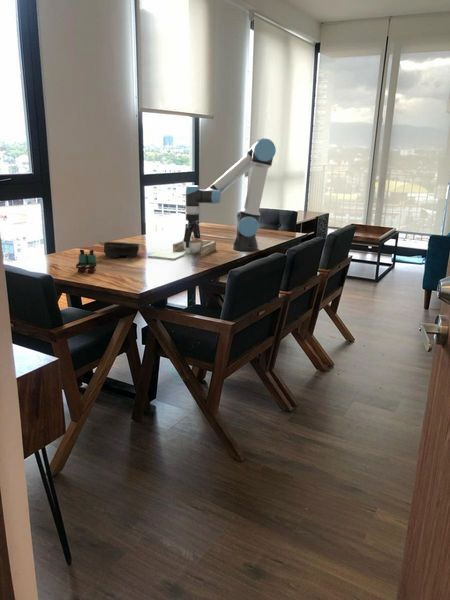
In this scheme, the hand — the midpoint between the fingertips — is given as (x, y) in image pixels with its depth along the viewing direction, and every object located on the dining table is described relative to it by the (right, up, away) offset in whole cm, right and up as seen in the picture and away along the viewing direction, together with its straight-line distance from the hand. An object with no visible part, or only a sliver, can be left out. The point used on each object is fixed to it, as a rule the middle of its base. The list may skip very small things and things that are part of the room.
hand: (192, 251), depth 288 cm
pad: (-13, -4, -12) cm, 18 cm away
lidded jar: (0, -1, 0) cm, 1 cm away
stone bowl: (-38, -4, -13) cm, 40 cm away
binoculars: (-47, -15, -51) cm, 71 cm away
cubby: (+1, 0, +4) cm, 4 cm away
